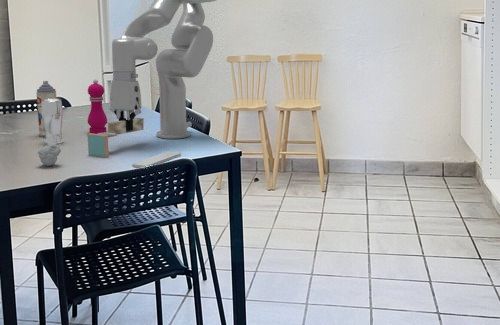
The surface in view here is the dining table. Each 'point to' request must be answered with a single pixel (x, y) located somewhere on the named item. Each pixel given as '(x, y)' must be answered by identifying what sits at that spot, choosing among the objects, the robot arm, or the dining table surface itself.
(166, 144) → the dining table surface
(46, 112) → the beer glass
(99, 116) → the pepper mill
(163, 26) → the robot arm
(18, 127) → the dining table surface
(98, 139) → the tile
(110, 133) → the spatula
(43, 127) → the aerosol can
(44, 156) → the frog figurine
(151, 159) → the board
